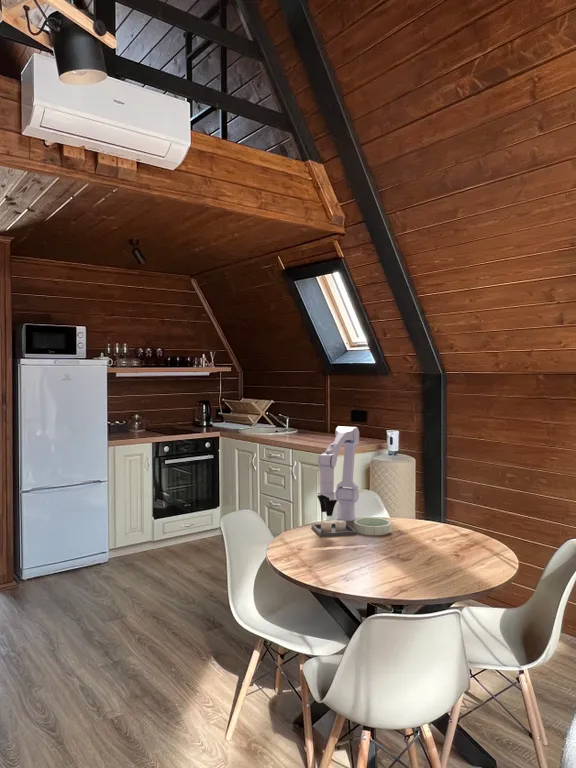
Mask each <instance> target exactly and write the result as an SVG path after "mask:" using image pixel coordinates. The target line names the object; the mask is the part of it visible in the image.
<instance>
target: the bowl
mask: <svg viewBox="0 0 576 768" xmlns="http://www.w3.org/2000/svg"><path fill="white" fill-rule="evenodd" d="M353 529H354V530H355V531H356V534H357V533H358V534H361V535H366V536H385V535H387V534H390V533H391V532H392V521H390V520H388V519H386V518H381V517H372V516H371V517H369V516H367V517H357V518H355V520H353Z"/></svg>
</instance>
